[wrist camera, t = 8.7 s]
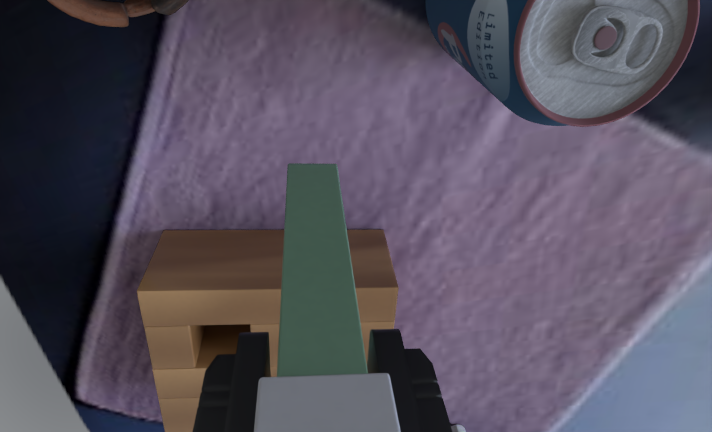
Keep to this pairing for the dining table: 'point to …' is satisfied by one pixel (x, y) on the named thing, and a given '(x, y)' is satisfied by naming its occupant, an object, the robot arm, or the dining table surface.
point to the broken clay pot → (115, 10)
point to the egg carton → (458, 428)
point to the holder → (235, 303)
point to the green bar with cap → (320, 323)
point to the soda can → (568, 52)
